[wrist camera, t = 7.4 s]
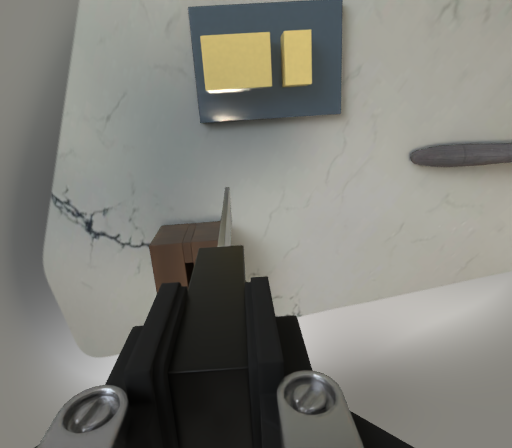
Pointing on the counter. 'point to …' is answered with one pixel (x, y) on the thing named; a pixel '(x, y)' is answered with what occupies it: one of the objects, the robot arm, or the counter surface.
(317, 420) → the robot arm
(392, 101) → the counter surface
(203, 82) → the butter dish
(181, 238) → the knife block
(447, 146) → the ladle
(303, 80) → the butter slice
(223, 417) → the knife
